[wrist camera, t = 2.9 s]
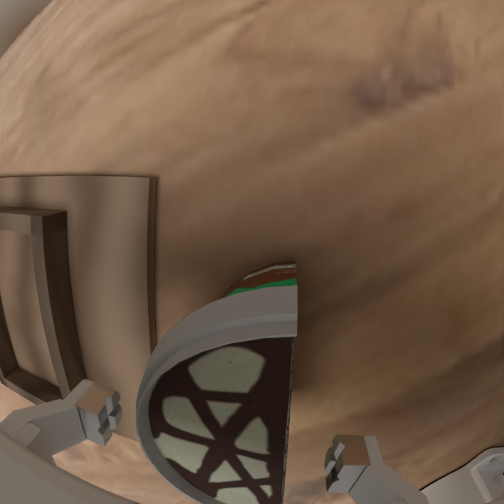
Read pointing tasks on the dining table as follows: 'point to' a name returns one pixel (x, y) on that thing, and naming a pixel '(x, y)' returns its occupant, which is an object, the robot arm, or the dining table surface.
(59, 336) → the caddy board
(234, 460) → the food container
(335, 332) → the dining table surface
